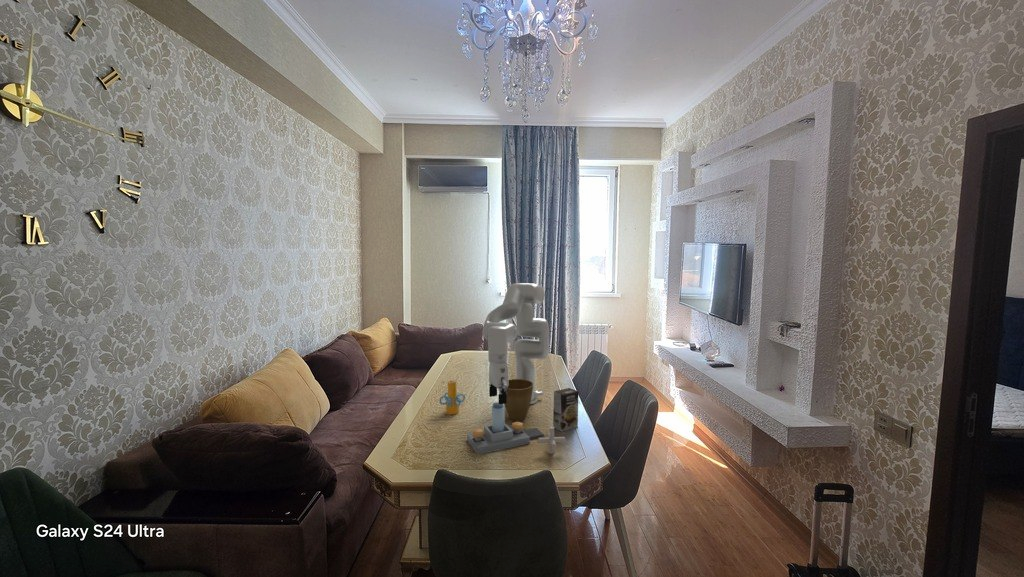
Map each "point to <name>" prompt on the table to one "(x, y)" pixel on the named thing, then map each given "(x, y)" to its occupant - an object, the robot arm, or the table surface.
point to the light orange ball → (517, 427)
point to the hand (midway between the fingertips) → (497, 399)
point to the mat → (534, 433)
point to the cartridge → (497, 418)
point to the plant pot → (518, 398)
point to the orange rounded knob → (478, 435)
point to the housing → (498, 439)
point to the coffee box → (565, 409)
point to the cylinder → (452, 399)
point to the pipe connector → (551, 440)
